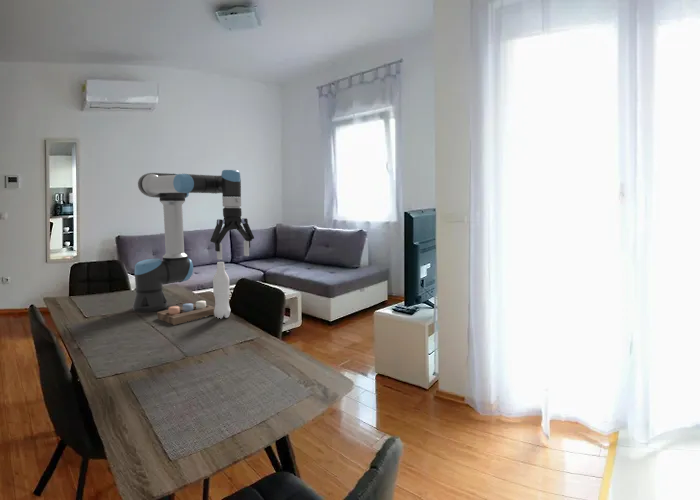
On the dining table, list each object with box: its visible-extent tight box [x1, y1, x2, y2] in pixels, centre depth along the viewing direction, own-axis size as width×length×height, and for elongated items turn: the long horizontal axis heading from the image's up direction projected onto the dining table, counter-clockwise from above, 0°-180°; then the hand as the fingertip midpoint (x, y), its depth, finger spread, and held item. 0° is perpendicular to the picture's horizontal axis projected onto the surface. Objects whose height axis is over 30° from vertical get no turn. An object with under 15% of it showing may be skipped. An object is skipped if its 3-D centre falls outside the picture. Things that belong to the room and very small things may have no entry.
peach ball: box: [167, 305, 180, 316], centre depth 181 cm, size 4×4×4 cm
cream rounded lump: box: [195, 300, 207, 309], centre depth 191 cm, size 4×4×4 cm
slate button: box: [182, 302, 194, 312], centre depth 186 cm, size 4×4×4 cm
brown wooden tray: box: [156, 303, 215, 326], centre depth 186 cm, size 14×21×3 cm, turn 142°
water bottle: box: [212, 261, 231, 320], centre depth 184 cm, size 7×7×25 cm
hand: (233, 257), depth 176 cm, fingers open, 13 cm apart
